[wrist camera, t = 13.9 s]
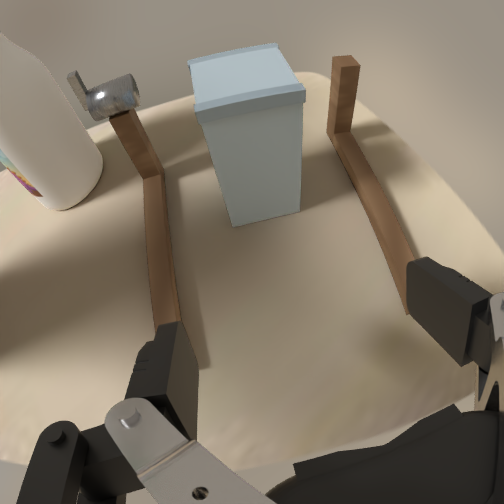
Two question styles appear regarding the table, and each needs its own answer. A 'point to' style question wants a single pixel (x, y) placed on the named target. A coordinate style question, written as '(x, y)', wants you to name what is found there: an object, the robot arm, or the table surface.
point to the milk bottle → (43, 133)
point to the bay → (347, 149)
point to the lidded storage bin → (252, 129)
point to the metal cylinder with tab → (106, 96)
